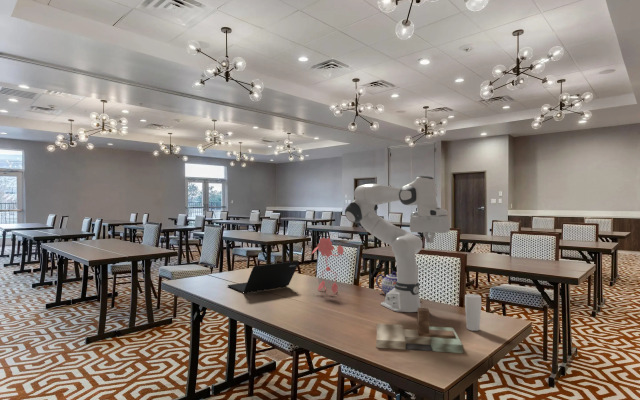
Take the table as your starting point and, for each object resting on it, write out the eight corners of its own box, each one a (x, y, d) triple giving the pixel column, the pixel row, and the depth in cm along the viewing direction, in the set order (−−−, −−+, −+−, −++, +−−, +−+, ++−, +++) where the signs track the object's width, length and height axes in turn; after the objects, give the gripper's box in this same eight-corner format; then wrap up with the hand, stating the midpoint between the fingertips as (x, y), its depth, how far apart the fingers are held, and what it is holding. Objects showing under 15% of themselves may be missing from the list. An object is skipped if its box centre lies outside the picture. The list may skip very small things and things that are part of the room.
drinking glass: (467, 326, 171) (467, 293, 171) (483, 329, 167) (483, 295, 167) (462, 329, 166) (462, 295, 166) (478, 333, 161) (478, 298, 162)
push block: (418, 336, 149) (418, 310, 149) (417, 331, 155) (417, 306, 155) (455, 338, 146) (455, 312, 146) (452, 333, 152) (452, 308, 152)
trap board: (376, 347, 144) (376, 339, 144) (376, 330, 164) (376, 323, 164) (463, 353, 139) (463, 345, 139) (452, 334, 159) (452, 327, 159)
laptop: (270, 281, 269) (270, 254, 270) (299, 291, 240) (300, 260, 240) (226, 287, 249) (227, 258, 249) (252, 298, 219) (253, 265, 220)
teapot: (370, 294, 230) (370, 270, 231) (383, 290, 242) (383, 267, 242) (406, 301, 214) (406, 275, 214) (418, 296, 225) (418, 272, 225)
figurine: (316, 287, 248) (316, 235, 247) (348, 293, 231) (348, 237, 231) (301, 292, 236) (300, 237, 235) (333, 299, 219) (333, 239, 219)
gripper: (405, 212, 174) (407, 242, 174) (441, 211, 157) (443, 244, 157) (415, 211, 178) (417, 240, 178) (450, 210, 161) (453, 242, 160)
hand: (429, 242), depth 167 cm, fingers closed
